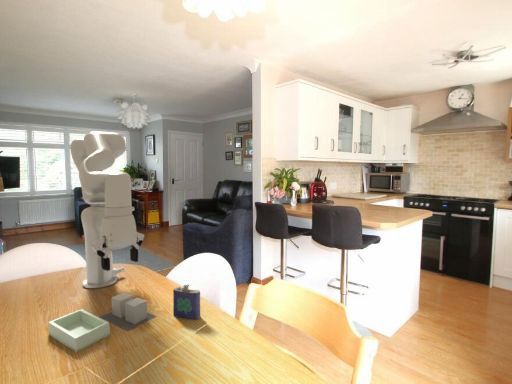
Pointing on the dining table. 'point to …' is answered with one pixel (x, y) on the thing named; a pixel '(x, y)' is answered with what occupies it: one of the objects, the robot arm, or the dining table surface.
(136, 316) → the grey block
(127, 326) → the mat
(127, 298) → the stone
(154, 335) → the dining table surface
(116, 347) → the dining table surface
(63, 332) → the bin
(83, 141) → the robot arm
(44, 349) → the dining table surface
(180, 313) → the flask
